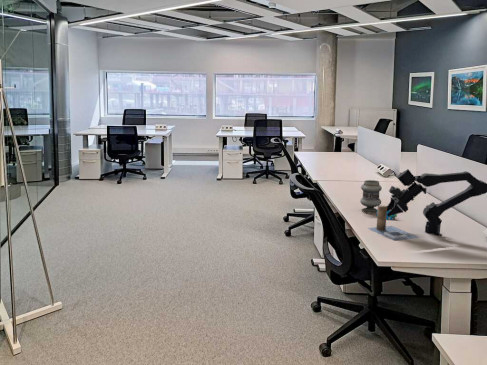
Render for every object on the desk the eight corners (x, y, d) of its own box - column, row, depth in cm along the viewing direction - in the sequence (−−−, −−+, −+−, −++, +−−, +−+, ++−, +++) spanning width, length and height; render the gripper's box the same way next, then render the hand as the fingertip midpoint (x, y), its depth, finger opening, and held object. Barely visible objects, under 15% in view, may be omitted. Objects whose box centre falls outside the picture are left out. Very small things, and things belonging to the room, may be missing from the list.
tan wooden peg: (382, 227, 248) (383, 205, 246) (387, 230, 244) (388, 207, 242) (374, 228, 247) (376, 205, 245) (379, 230, 243) (381, 207, 241)
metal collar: (397, 233, 238) (397, 231, 238) (407, 238, 231) (407, 235, 231) (383, 235, 236) (384, 232, 235) (393, 239, 228) (393, 236, 228)
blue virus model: (373, 217, 267) (379, 202, 271) (373, 222, 271) (379, 208, 276) (393, 222, 262) (399, 207, 266) (393, 228, 266) (399, 213, 271)
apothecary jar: (355, 209, 292) (357, 179, 289) (373, 207, 296) (375, 179, 293) (366, 213, 281) (368, 183, 278) (384, 212, 285) (386, 182, 281)
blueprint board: (391, 227, 253) (391, 225, 252) (420, 239, 232) (420, 237, 232) (367, 230, 248) (367, 227, 247) (393, 242, 227) (394, 240, 227)
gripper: (396, 177, 249) (373, 197, 253) (403, 184, 231) (377, 205, 234) (411, 193, 249) (387, 213, 253) (418, 201, 231) (393, 222, 235)
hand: (386, 213), depth 244 cm, fingers open, 9 cm apart
